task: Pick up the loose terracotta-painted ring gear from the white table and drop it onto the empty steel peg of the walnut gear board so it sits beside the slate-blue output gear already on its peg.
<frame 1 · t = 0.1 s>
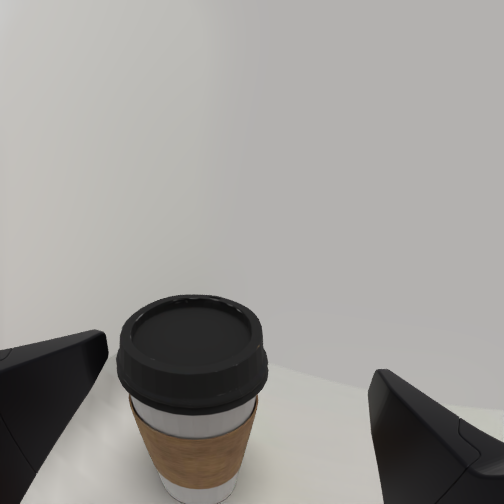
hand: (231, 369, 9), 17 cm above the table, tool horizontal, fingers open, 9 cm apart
coffee cup: (198, 479, 18), on the table
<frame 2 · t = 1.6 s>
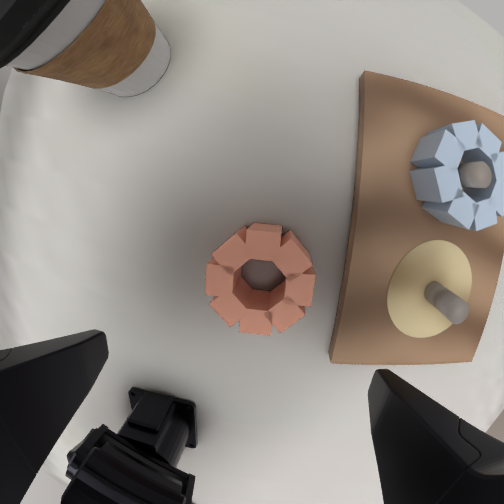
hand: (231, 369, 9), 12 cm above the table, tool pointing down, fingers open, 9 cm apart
coffee cup: (137, 64, 18), on the table
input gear: (263, 269, 20), on the table
output gear: (449, 175, 16), point 1 cm above the table, touching gear board
gear board: (433, 231, 18), on the table
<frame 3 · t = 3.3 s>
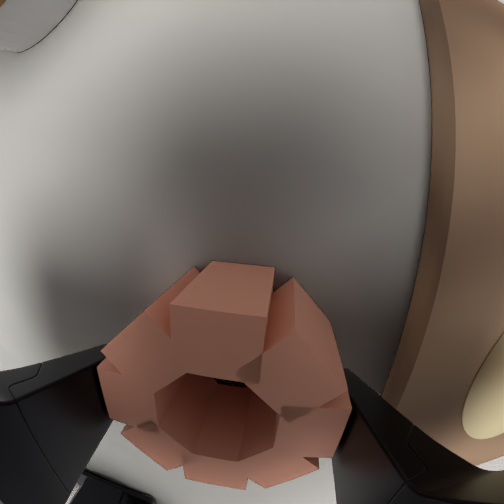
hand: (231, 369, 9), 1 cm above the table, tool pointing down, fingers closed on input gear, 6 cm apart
coffee cup: (46, 4, 8), on the table
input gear: (237, 352, 10), on the table, touching gripper
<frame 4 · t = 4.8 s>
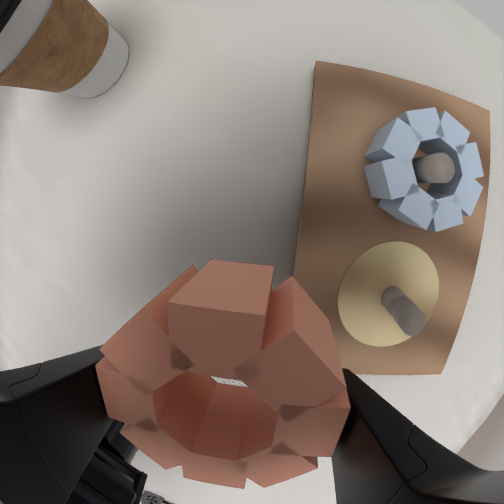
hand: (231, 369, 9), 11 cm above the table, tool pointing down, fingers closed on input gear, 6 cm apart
coffee cup: (99, 66, 18), on the table
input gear: (236, 351, 10), point 10 cm above the table, touching gripper
output gear: (412, 170, 16), point 1 cm above the table, touching gear board
gear board: (395, 231, 18), on the table
when the fingers open (4 cm above the table, at t = 6.8 s): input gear drops 1 cm, resting on gear board.
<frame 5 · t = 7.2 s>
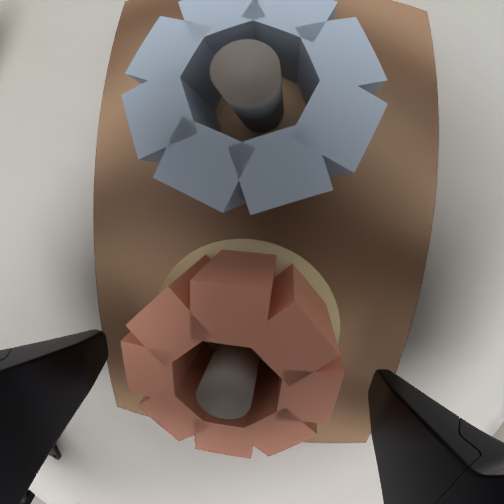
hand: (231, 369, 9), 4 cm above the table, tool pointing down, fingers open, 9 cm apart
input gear: (243, 332, 11), point 2 cm above the table, touching gear board
output gear: (261, 111, 9), point 1 cm above the table, touching gear board
gear board: (257, 222, 12), on the table
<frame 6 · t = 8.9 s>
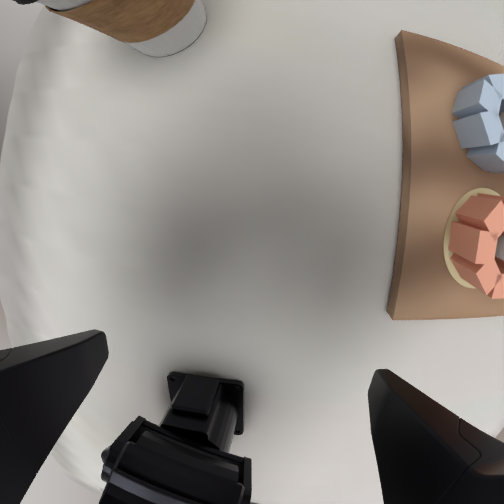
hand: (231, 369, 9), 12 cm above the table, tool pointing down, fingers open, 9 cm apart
coffee cup: (170, 26, 17), on the table
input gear: (482, 238, 16), point 2 cm above the table, touching gear board
output gear: (486, 127, 14), point 1 cm above the table, touching gear board
gear board: (476, 181, 17), on the table
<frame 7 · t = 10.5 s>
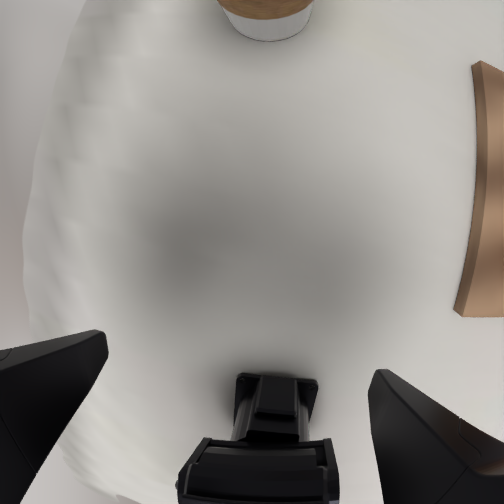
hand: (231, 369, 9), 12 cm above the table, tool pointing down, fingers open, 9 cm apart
coffee cup: (269, 12, 16), on the table
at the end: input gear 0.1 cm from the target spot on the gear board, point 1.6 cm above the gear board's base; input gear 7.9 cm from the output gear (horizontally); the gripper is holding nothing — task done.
